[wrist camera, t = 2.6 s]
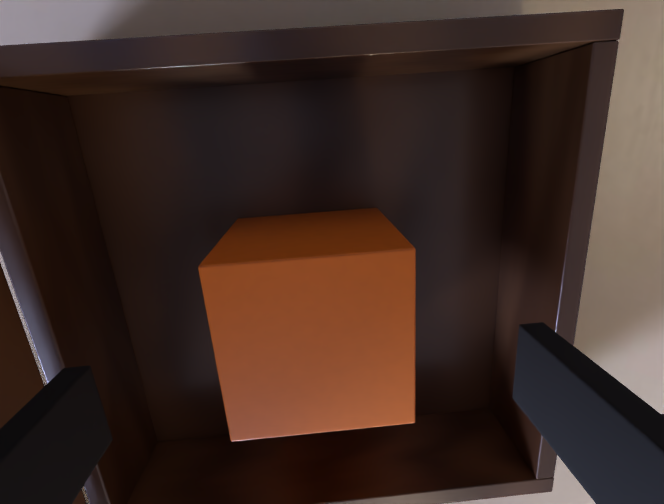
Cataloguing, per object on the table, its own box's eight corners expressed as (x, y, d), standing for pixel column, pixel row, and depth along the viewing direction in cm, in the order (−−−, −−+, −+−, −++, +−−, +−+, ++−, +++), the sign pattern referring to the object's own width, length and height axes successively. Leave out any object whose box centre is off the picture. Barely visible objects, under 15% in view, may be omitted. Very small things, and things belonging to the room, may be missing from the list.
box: (524, 48, 18) (625, 8, 12) (495, 408, 24) (552, 492, 18) (53, 77, 17) (-73, 49, 11) (152, 443, 23) (102, 541, 18)
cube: (377, 207, 19) (416, 247, 12) (381, 331, 21) (416, 423, 14) (236, 218, 18) (196, 265, 12) (255, 342, 21) (230, 442, 14)
